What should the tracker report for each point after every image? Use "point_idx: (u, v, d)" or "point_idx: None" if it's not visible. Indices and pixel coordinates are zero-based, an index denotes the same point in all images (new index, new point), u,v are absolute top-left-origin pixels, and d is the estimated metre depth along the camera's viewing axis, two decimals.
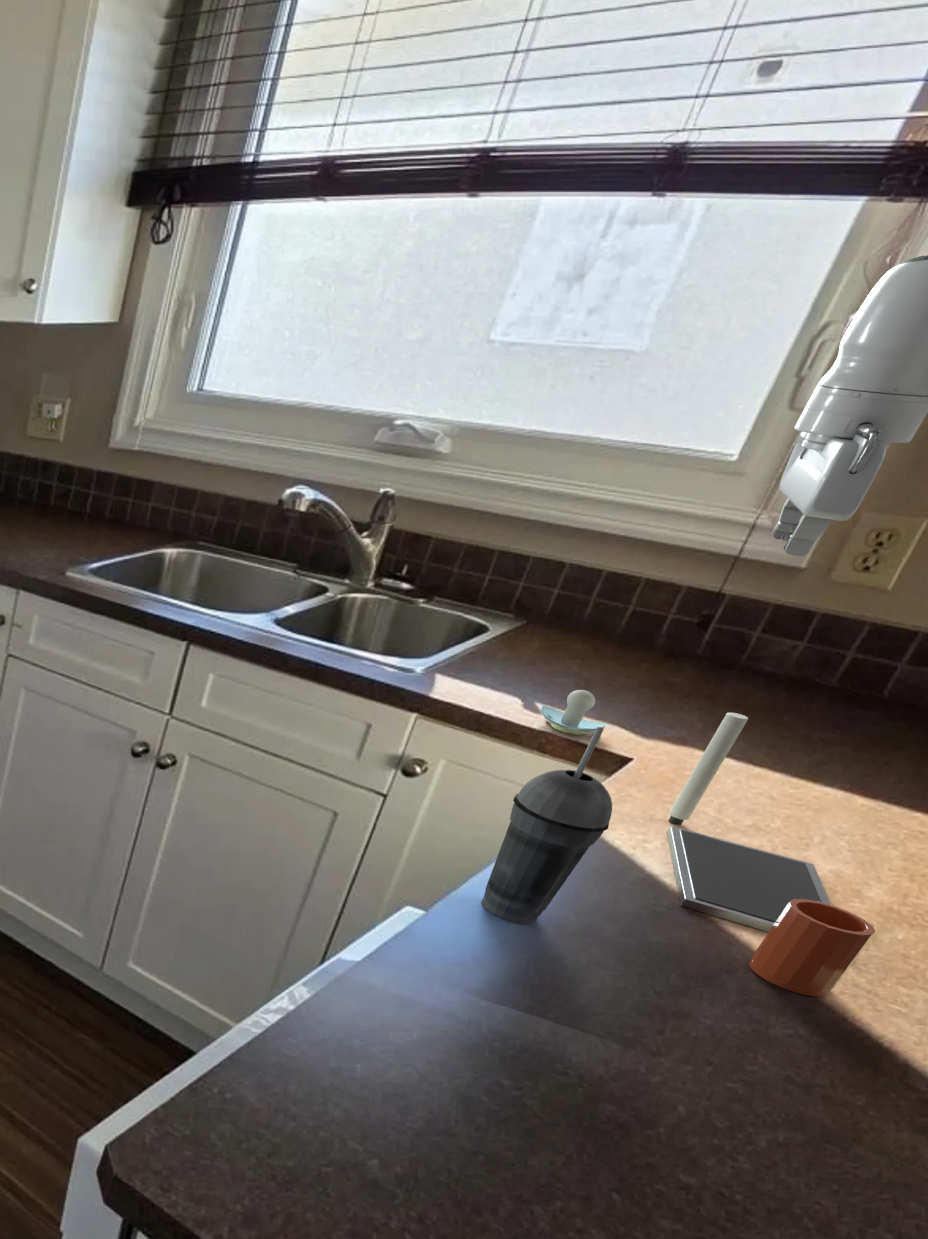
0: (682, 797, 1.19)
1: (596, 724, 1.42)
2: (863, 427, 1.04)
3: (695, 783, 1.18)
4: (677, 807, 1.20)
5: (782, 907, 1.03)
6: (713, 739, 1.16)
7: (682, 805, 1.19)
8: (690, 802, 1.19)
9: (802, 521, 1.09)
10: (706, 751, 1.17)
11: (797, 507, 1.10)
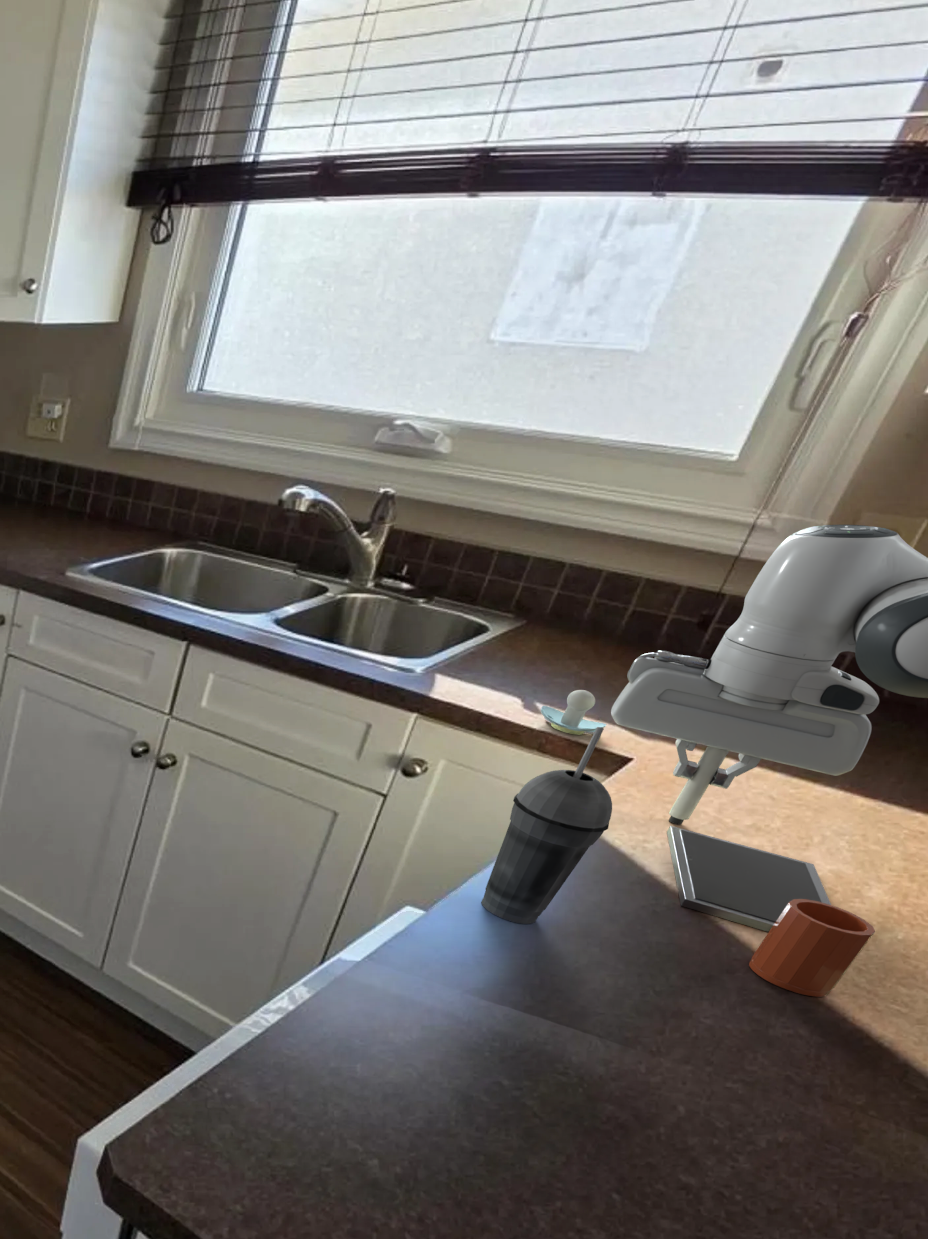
0: (682, 797, 1.19)
1: (596, 724, 1.42)
2: None
3: (695, 783, 1.18)
4: (677, 807, 1.20)
5: (782, 907, 1.03)
6: None
7: (681, 805, 1.19)
8: (690, 802, 1.19)
9: (677, 740, 1.19)
10: (706, 751, 1.17)
11: None
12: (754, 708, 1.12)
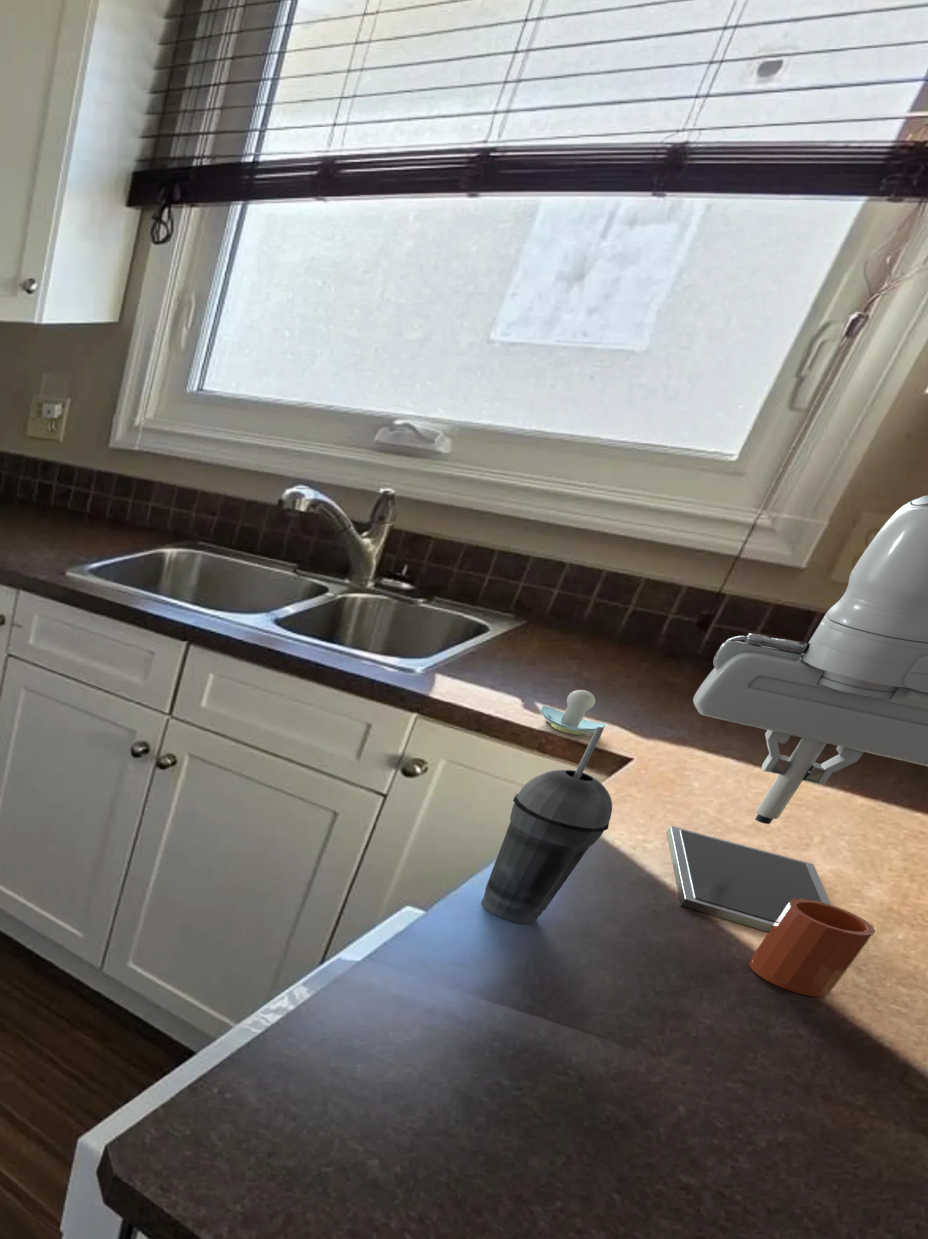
0: (772, 794, 1.09)
1: (596, 724, 1.42)
2: None
3: (787, 778, 1.08)
4: (766, 805, 1.10)
5: (782, 907, 1.03)
6: None
7: (771, 803, 1.09)
8: (780, 800, 1.09)
9: (767, 732, 1.09)
10: (800, 744, 1.07)
11: None
12: (858, 697, 1.02)
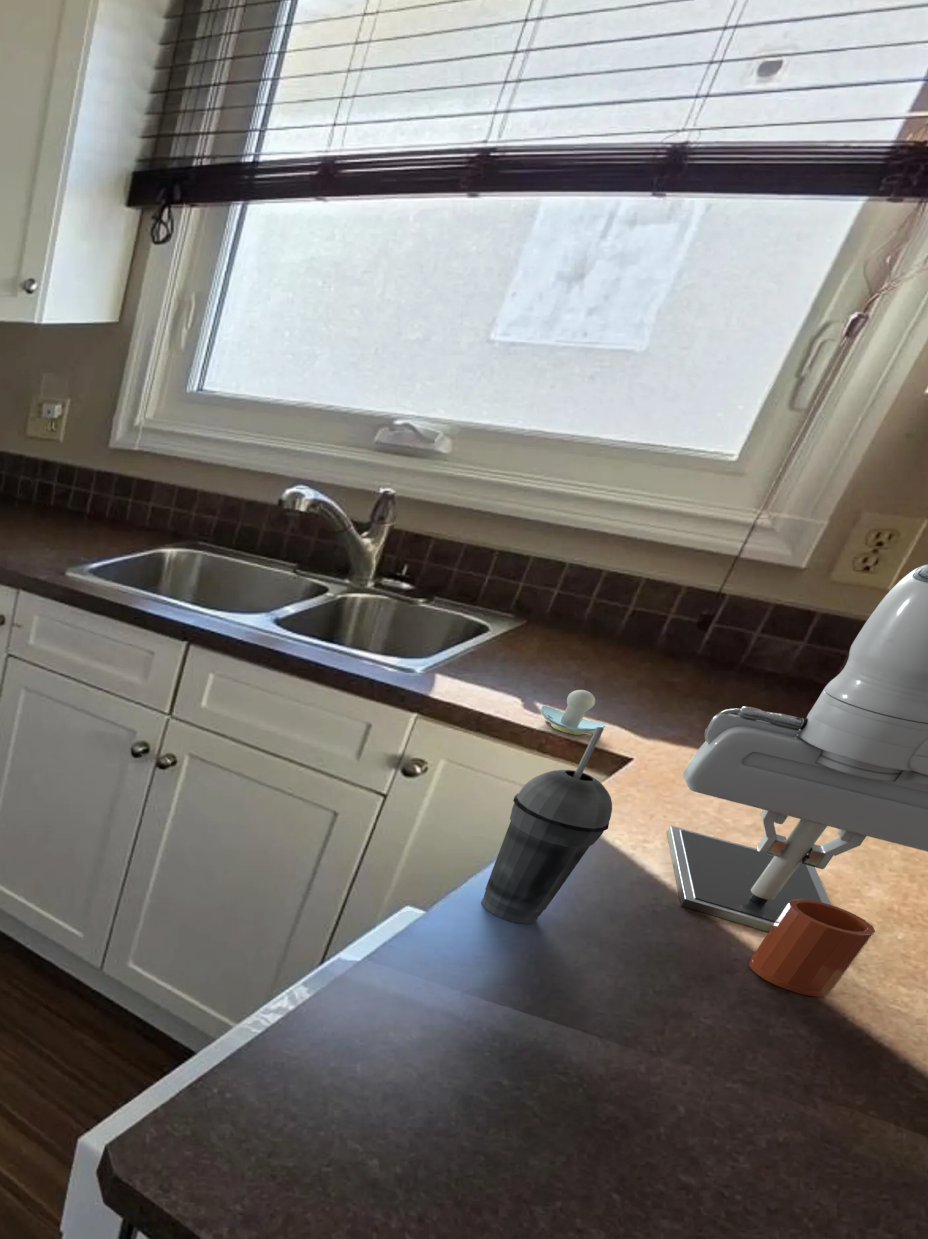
0: (768, 875, 1.02)
1: (596, 724, 1.42)
2: None
3: (784, 860, 1.01)
4: (761, 885, 1.03)
5: (782, 907, 1.03)
6: None
7: (767, 884, 1.02)
8: (776, 881, 1.02)
9: (762, 810, 1.02)
10: (799, 825, 0.99)
11: None
12: (860, 778, 0.95)
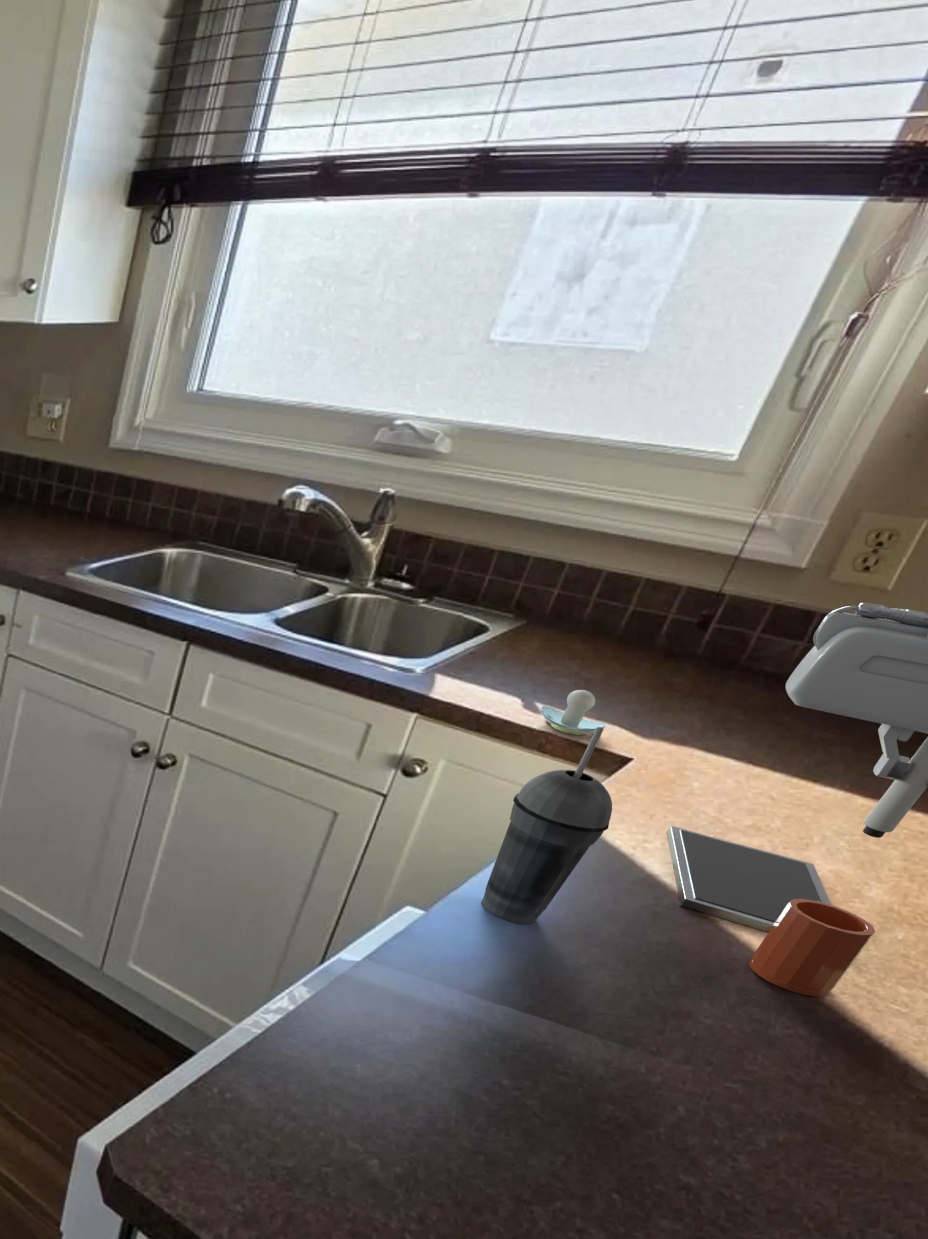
0: (886, 803, 0.87)
1: (596, 724, 1.42)
2: None
3: (907, 784, 0.86)
4: (877, 815, 0.88)
5: (782, 907, 1.03)
6: None
7: (884, 814, 0.88)
8: (897, 810, 0.87)
9: (880, 727, 0.87)
10: (927, 742, 0.84)
11: None
12: None
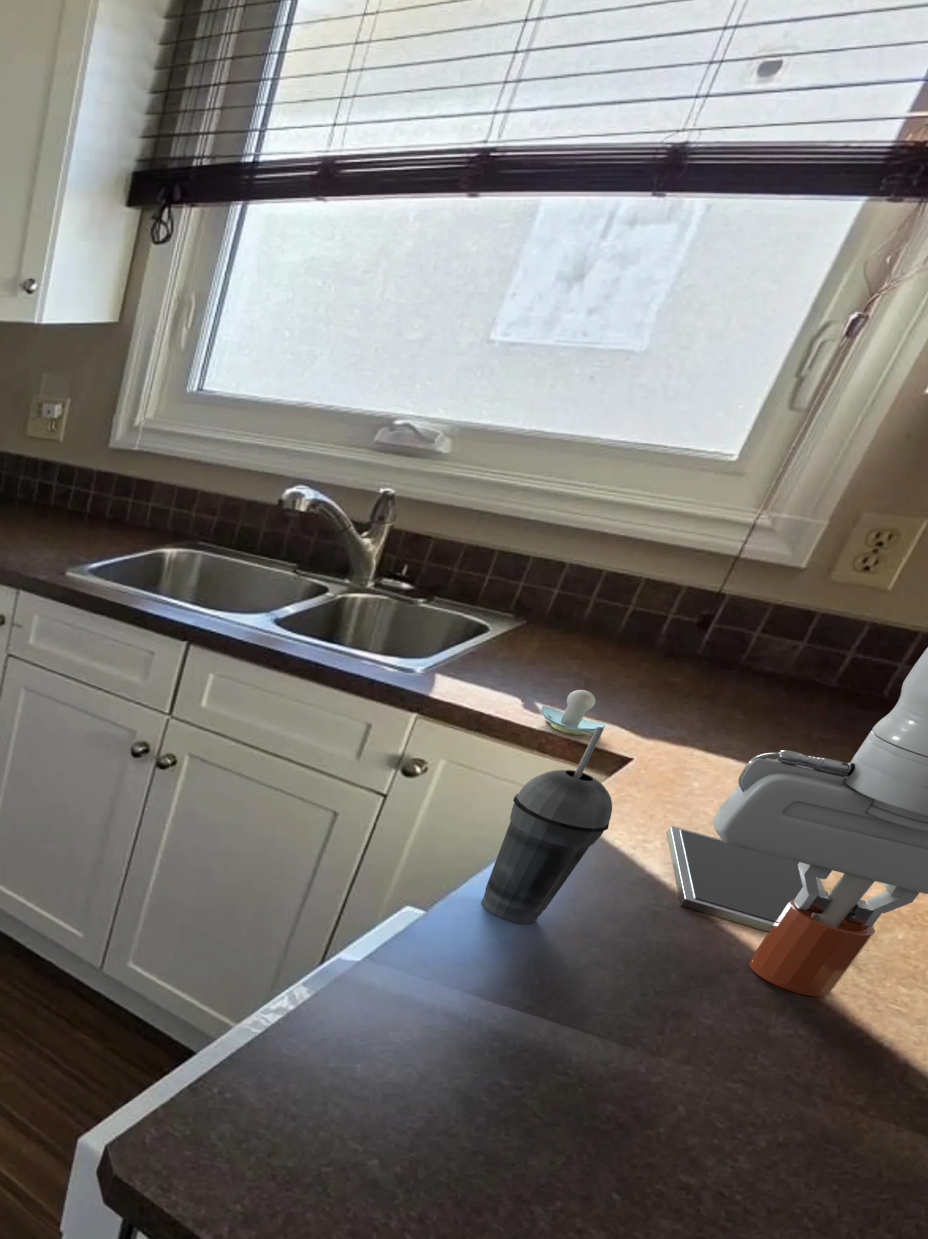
0: None
1: (596, 724, 1.42)
2: None
3: (826, 918, 0.91)
4: None
5: (782, 907, 1.03)
6: None
7: None
8: None
9: (800, 863, 0.92)
10: (843, 880, 0.89)
11: None
12: (915, 830, 0.85)
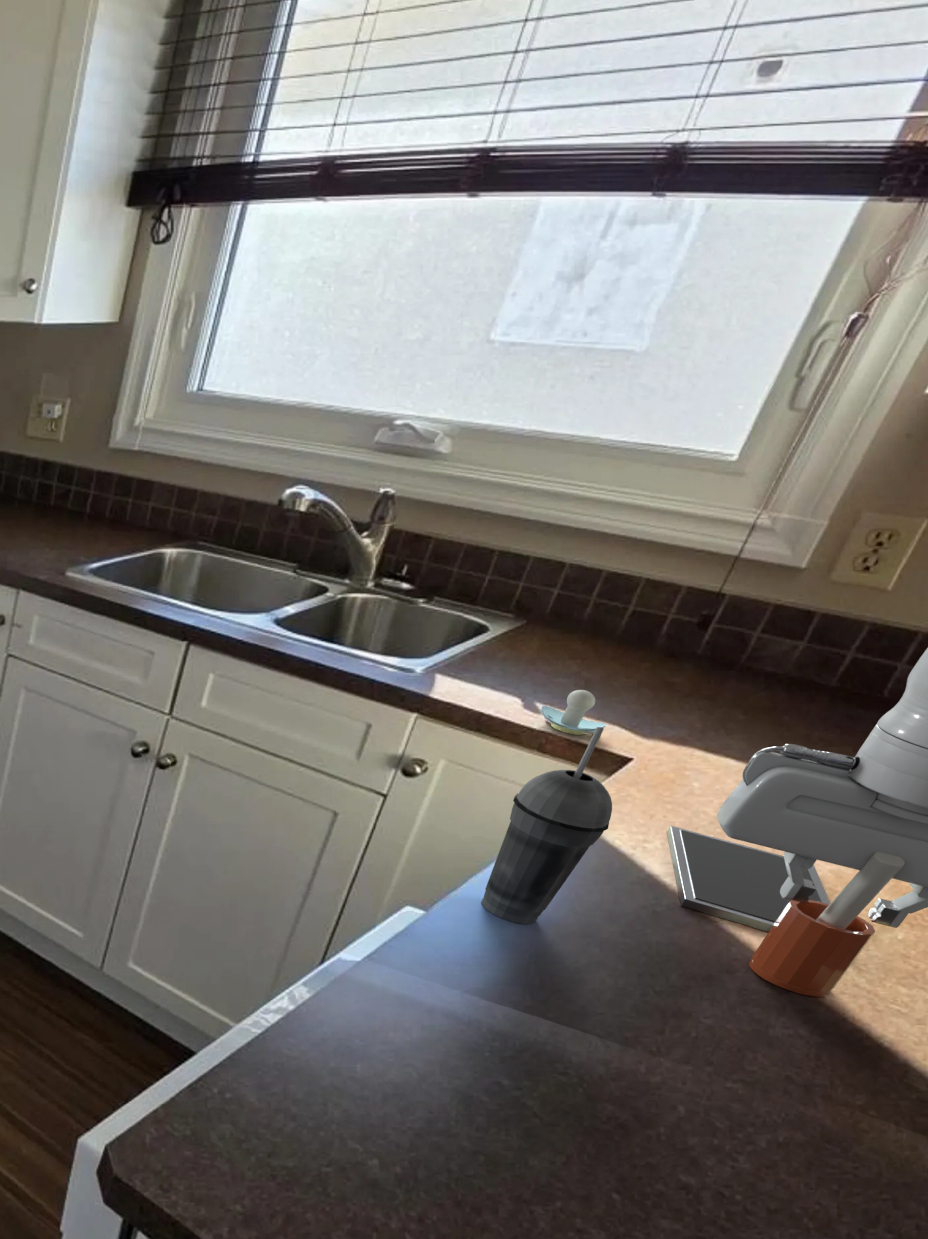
0: None
1: (596, 724, 1.42)
2: None
3: None
4: None
5: (782, 907, 1.03)
6: (853, 883, 0.88)
7: None
8: None
9: (785, 852, 0.92)
10: (842, 896, 0.89)
11: None
12: (920, 823, 0.85)
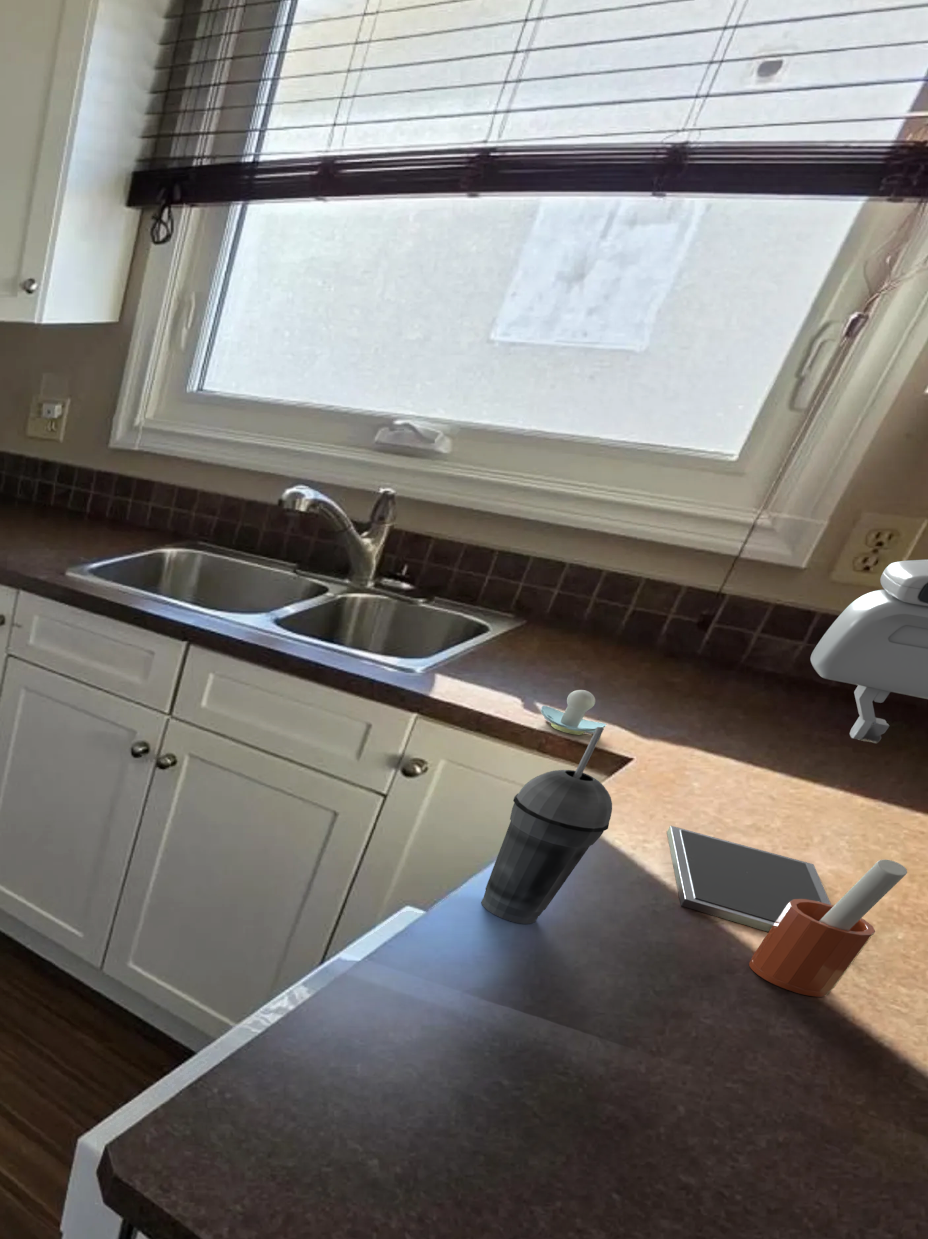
0: None
1: (596, 724, 1.42)
2: None
3: None
4: None
5: (782, 907, 1.03)
6: (854, 890, 0.87)
7: None
8: None
9: None
10: (843, 902, 0.88)
11: None
12: None
